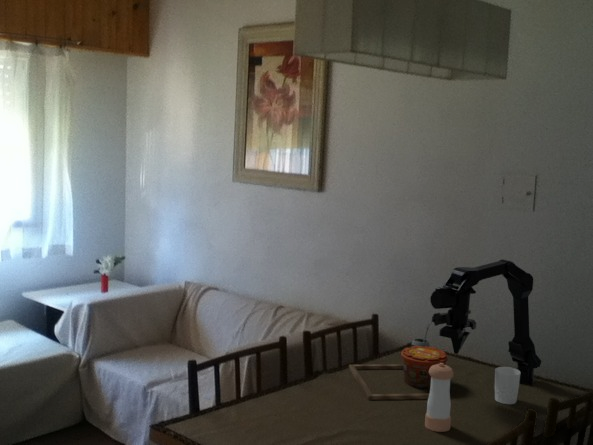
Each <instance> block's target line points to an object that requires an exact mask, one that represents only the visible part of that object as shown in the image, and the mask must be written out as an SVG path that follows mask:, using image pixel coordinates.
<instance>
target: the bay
mask: <svg viewBox="0 0 593 445" xmlns="http://www.w3.org/2000/svg"><path fill="white" fill-rule="evenodd" d="M348 369H349V370H350V372H351V374H352V375H353V377H354V379H355V380H356V382H357V384H358V385H359V387H360V389H361V390H362V392H363V394H364V396H365V398H367V400H368V401H371V400H375V401H377V400H378V401H380V400H381V401H382V400H387V401H388V400H428V398H429V394H430V392H429V393H378V394H377V393H372V392H371V390H370V389H369V386H368V385H367V384H366V381H365V380H364V379H363V377H362V376H361V375H360V373H359V371H358V370H404V369H403V363H399V364H398V363H397V364H395V363H393V364H391V363H390V364H389V363H388V364H386V363H385V364H381V363H380V364H375V363H374V364H348Z"/></svg>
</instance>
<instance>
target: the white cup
mask: <svg viewBox="0 0 593 445" xmlns="http://www.w3.org/2000/svg"><path fill="white" fill-rule="evenodd" d="M520 374H521V372H520V371H519V370H517V368H514V367H510V366H499V367H496V368H494V400H495V402H497V403H500V404H503V405H514V404H516V403H517V402H518V401H517V399H518V393H519V387H520V383H519V382H520Z"/></svg>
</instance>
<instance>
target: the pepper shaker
mask: <svg viewBox="0 0 593 445" xmlns="http://www.w3.org/2000/svg"><path fill="white" fill-rule="evenodd" d="M429 374H430V376H431V387H430V389H429V393H430V394H429V398H428V399H427V403H426V404H427V406H426V413H425V415H424V416H425V417H424V418H425V420H424V426H425V428H426V429H427V430H429V431H433V432H438V433H441V432H444V433H445V432H448V431H450V430H451V426H452V424H451V422H452V416H451V405H452V403H451V393H450V390H451V379H452V378H453V377H454V375H455V374H454V371H453V369H452V367H451V366H449V365H447V364H446V365H444V363H439V364H436V365H433V366H431V367H430V369H429Z"/></svg>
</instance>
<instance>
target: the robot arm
mask: <svg viewBox="0 0 593 445" xmlns="http://www.w3.org/2000/svg"><path fill="white" fill-rule="evenodd" d="M501 275H502V277H503V278H504V279H505V280H506V282H507V289H508V290H509V293H510V294H511V295H512V300H513V301H512V304H513V328H514V336H513V338H512V339H511V340H509V341H508V343H507V344H508V353H509V355H510V356H511V361H513V362H514V363H516V369H517V370H519V371H520V372H521V374H520V382H519V384H524V385H529V386H533V384H534V383H535V382H536V381H537V378H535V377H534V376H535V369H538V368H540V367H541V364H542V359H541V358H540V357H539V356H538V355H537V353H536V346H535V343H534V341H533V340H532V337H531V336H530V312H529V310H530V308H529V297H530V295H531V293H532V291H533V289H534V288H533V287H534V276H533V275H532V274H531V273H528V272H526V270H524V269H523V268H521V267H519V266H518V265H516V263H514V262H513V261H511V260H507V259H500V260H498V261H494V262H490V263H487V264H483V265H479V266H475V267H467V266H462V267H458V266H457V267H455V268H453V269H452V271H451V274H450V275H449V276H448V278H447V279H446V280H445V282H444V284H442V287H440V286H437V287H435V290H434V291H433V292H432V293H431V296H430V297H429V298H430V299H429V300H430V303H431V306H432V307H433V309H434V310H440V309H448V311H447V312H442V313H441V312H437V313H436V312H435V313H433V316H432V317H431V318H432V319H431V320H432V322H433V324H434V326H439V325H444V324H445V325H444V326H443V327H441V328H440V329H439V332H438V333H439V335H438V336H440V337H442V338H443V337H444V338H449V339H450V340H451V343H452V349H453V353H454V354H456V355H458V354H459V353H460V351H461V349H462V347H463V346H464V344H465V342H466V341H467V338H468V337H469V335H470V334H471V332H469V331H467V329H466V328H471V330H473V331H474V330H476V328H477V322H476V320H475V319H473V318H472V319H471V318H469V315H471V314H472V313H471V312H472V310H470V302H471V294H473V295H474V294H476V293H477V291H476V290H475V289H474V288H473V287H475V286H477V285H478V284H479V282H480V281H483V280H487V279H490V278H494V277H497V276H501ZM432 322H431V323H432Z"/></svg>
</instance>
